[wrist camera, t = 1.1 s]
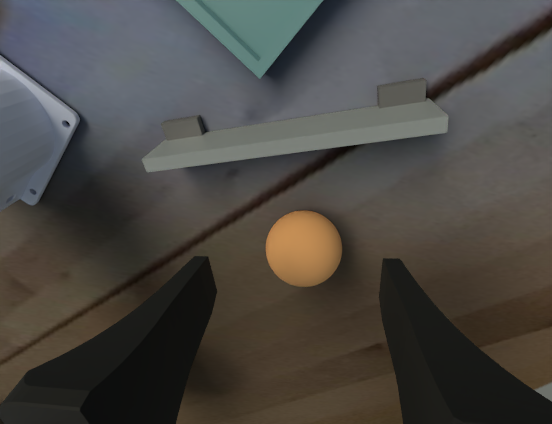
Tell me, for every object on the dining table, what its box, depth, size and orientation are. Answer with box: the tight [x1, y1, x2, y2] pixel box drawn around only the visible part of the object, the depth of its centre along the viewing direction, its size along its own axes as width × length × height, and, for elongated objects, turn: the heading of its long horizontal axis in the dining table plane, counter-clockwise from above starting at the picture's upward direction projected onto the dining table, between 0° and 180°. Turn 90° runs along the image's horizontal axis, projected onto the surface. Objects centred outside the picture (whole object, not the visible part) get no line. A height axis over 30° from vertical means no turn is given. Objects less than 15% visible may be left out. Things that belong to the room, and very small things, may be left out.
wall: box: [142, 78, 448, 172], centre depth 19 cm, size 16×3×4 cm, turn 101°
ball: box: [266, 210, 342, 287], centre depth 22 cm, size 5×5×5 cm
